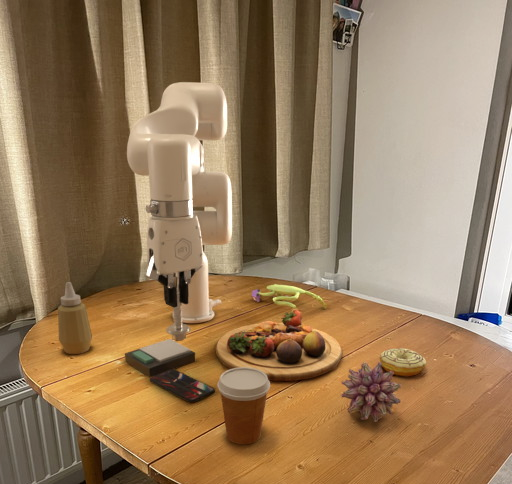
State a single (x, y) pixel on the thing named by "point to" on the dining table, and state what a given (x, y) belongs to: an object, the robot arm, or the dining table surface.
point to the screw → (178, 318)
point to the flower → (371, 391)
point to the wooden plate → (280, 349)
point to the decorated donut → (402, 361)
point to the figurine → (285, 294)
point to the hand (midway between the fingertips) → (176, 303)
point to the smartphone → (182, 385)
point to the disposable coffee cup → (243, 403)
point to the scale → (159, 357)
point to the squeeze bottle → (73, 323)
